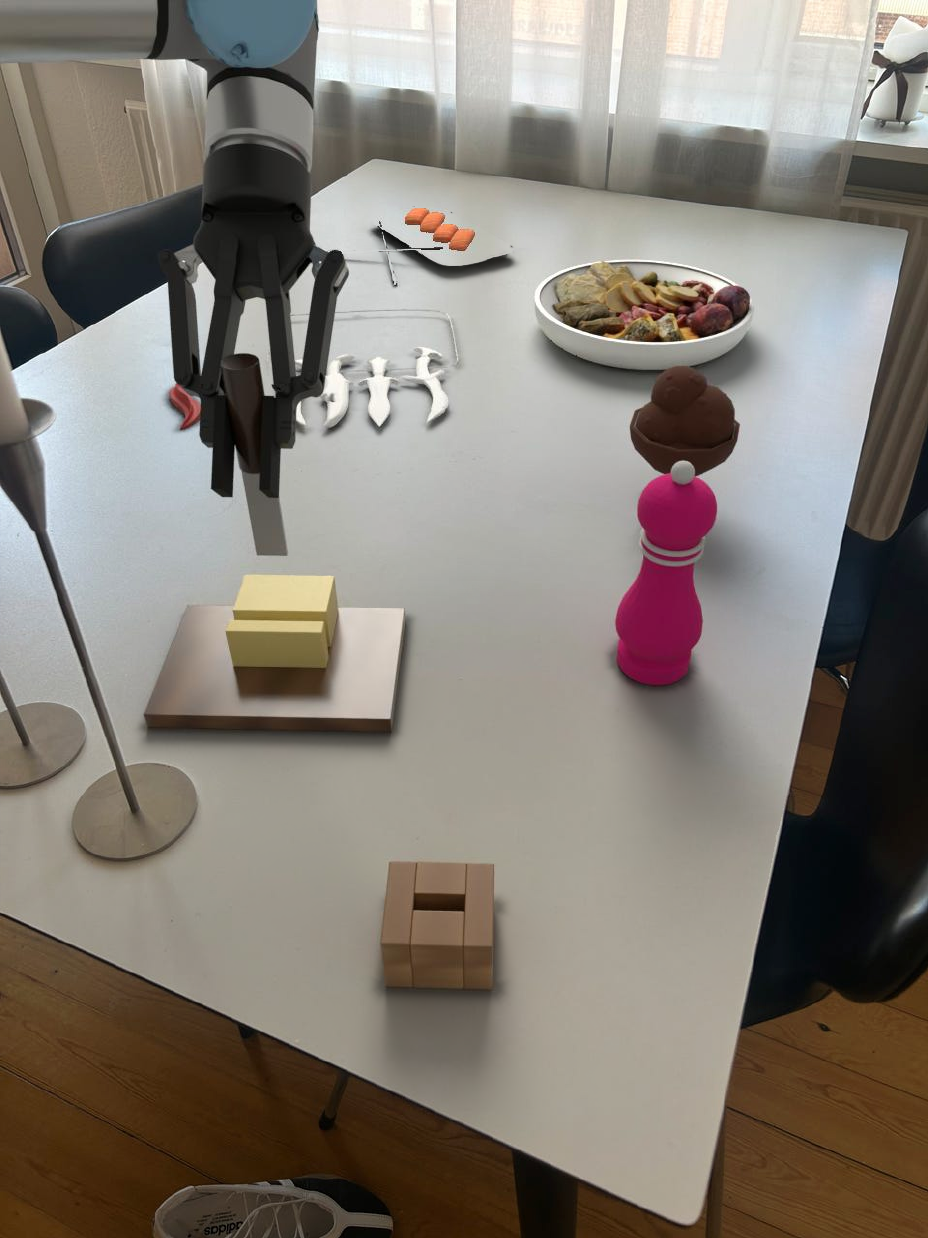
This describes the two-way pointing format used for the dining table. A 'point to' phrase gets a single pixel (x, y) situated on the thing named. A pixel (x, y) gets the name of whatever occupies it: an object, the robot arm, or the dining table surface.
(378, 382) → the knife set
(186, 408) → the cayenne pepper
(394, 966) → the knife stand
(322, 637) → the butter slice
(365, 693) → the butter board
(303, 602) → the butter block
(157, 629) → the dining table surface
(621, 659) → the pepper mill
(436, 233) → the sushi plate
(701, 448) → the ice cream bowl
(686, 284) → the bowl
